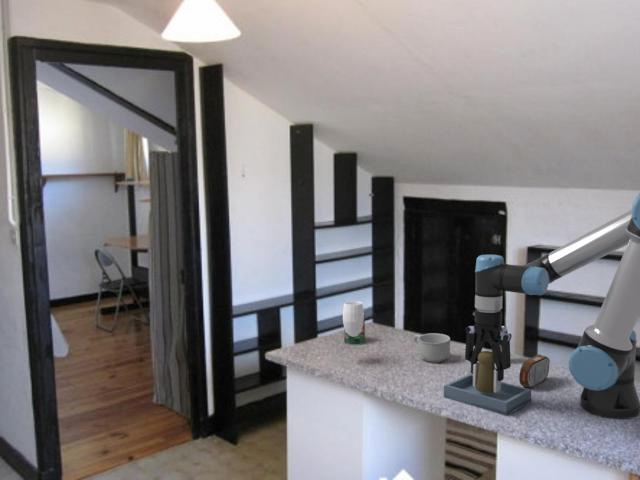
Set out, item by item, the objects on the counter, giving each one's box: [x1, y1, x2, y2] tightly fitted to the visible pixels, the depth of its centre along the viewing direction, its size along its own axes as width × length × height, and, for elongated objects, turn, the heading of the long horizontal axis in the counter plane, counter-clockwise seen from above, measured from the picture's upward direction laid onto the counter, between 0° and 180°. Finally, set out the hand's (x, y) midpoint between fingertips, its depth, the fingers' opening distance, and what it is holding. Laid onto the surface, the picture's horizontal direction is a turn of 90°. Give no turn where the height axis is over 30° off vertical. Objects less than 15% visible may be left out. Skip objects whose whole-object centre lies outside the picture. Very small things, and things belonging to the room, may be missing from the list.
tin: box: [518, 353, 551, 389], centre depth 197 cm, size 15×3×8 cm, turn 134°
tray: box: [443, 373, 532, 416], centre depth 186 cm, size 20×14×4 cm
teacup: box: [412, 332, 451, 363], centre depth 223 cm, size 14×11×8 cm
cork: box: [476, 350, 496, 393], centre depth 185 cm, size 6×6×11 cm
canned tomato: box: [343, 313, 366, 346], centre depth 244 cm, size 8×8×11 cm
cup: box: [342, 300, 365, 337], centre depth 220 cm, size 7×7×21 cm
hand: (486, 387), depth 185 cm, fingers closed on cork, 6 cm apart
